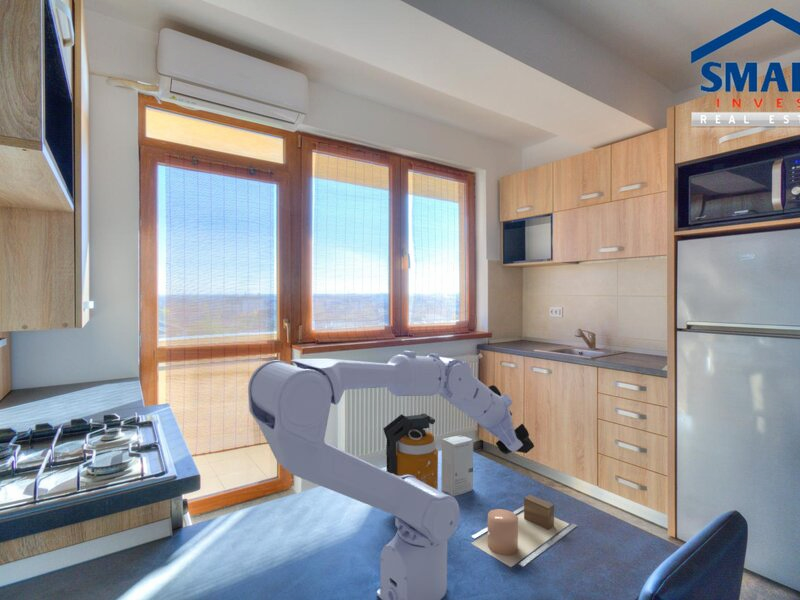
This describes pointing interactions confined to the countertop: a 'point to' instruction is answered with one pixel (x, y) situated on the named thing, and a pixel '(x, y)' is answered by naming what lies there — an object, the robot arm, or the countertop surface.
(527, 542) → the beige board with block
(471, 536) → the guide rails
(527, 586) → the countertop surface
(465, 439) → the skincare box
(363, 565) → the countertop surface
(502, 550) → the tan rounded piece
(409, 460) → the canister
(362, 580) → the countertop surface
